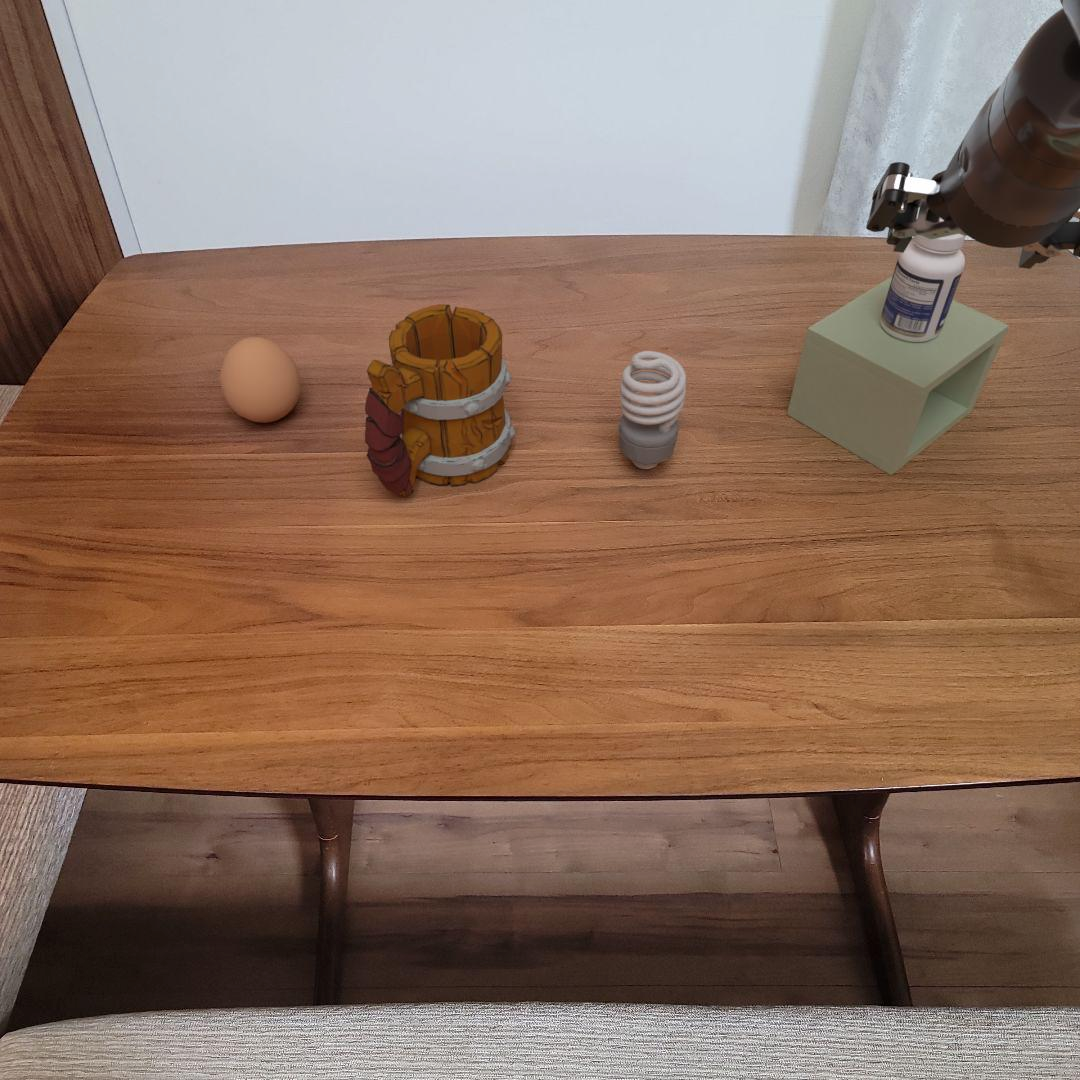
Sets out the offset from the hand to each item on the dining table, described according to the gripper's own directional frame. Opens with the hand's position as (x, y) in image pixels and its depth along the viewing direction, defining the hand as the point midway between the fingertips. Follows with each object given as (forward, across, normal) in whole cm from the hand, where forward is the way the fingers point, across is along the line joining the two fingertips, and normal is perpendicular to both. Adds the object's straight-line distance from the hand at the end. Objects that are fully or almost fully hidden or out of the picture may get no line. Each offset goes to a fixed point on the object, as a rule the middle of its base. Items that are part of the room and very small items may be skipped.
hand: (962, 246), depth 66 cm
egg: (+13, +58, +21) cm, 63 cm away
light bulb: (+15, +21, +19) cm, 32 cm away
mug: (+12, +39, +22) cm, 47 cm away
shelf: (+25, 0, +9) cm, 27 cm away
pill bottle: (+18, 0, +2) cm, 18 cm away
